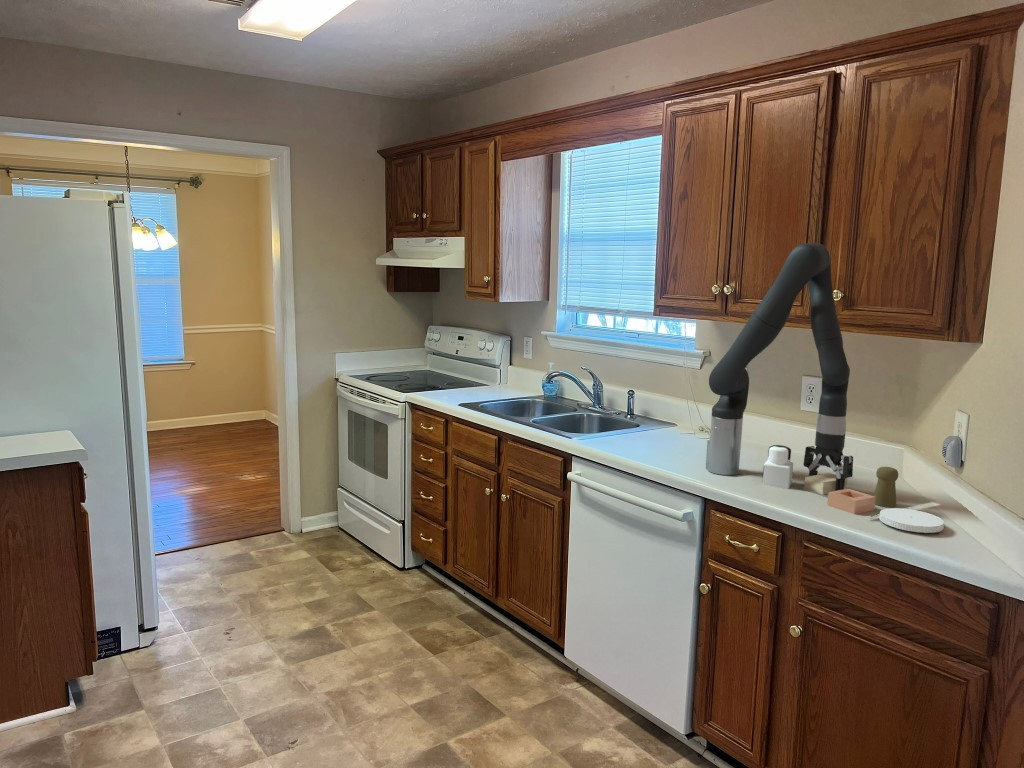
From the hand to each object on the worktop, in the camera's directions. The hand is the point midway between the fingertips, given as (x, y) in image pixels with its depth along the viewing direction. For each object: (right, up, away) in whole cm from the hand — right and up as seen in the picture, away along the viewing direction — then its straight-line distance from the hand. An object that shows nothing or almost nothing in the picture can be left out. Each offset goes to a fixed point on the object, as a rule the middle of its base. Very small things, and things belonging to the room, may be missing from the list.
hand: (825, 487), depth 210 cm
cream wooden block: (0, -1, 0) cm, 1 cm away
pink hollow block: (0, -4, -15) cm, 16 cm away
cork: (+10, -4, -12) cm, 16 cm away
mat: (0, -2, 0) cm, 2 cm away
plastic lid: (+10, -6, -25) cm, 28 cm away
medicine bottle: (-12, -1, +5) cm, 13 cm away
